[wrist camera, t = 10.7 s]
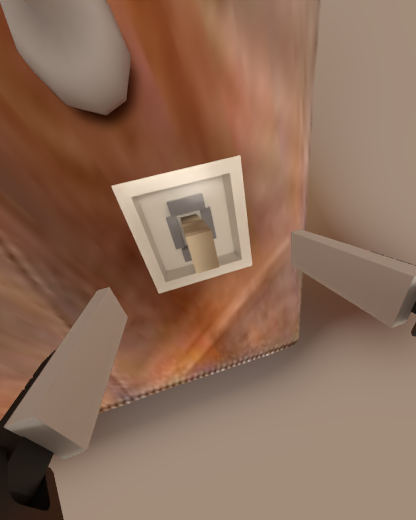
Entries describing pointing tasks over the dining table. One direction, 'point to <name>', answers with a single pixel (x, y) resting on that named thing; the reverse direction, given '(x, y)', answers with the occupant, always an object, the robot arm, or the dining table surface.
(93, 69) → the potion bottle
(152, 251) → the white square tray
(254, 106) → the dining table surface
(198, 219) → the tapered beige beam
